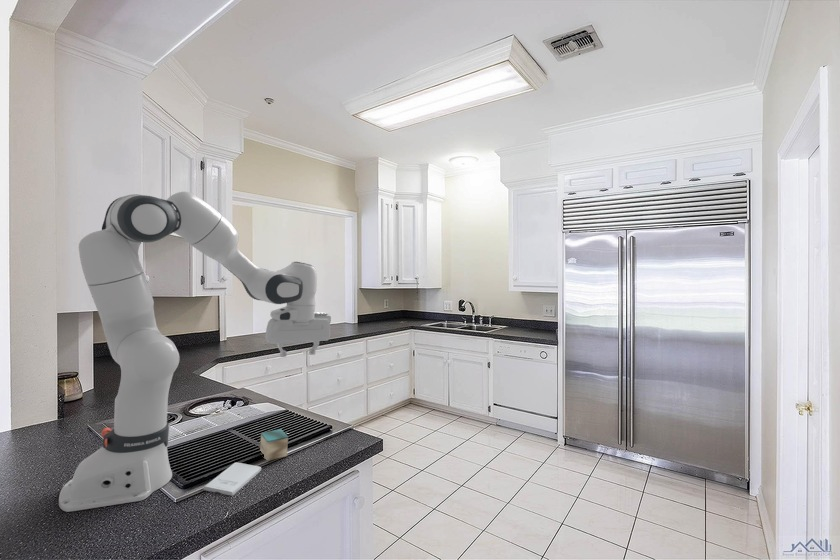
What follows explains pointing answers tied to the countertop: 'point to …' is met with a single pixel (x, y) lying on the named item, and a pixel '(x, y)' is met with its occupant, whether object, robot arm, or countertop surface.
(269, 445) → the maple cube
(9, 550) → the countertop surface
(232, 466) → the external hard drive
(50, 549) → the countertop surface
